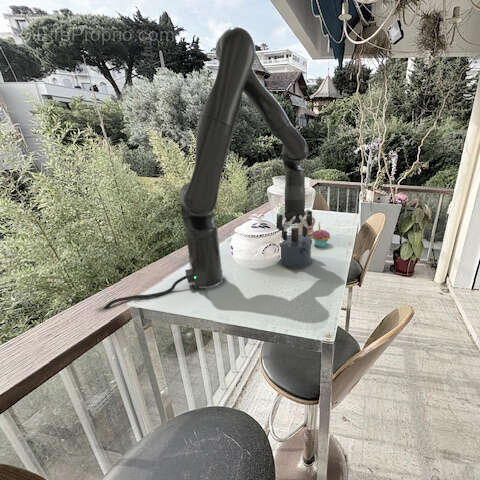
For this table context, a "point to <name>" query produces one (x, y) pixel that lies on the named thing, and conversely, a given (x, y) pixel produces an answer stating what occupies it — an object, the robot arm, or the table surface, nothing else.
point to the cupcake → (320, 237)
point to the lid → (296, 240)
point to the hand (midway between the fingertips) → (294, 238)
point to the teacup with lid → (310, 228)
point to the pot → (295, 257)
